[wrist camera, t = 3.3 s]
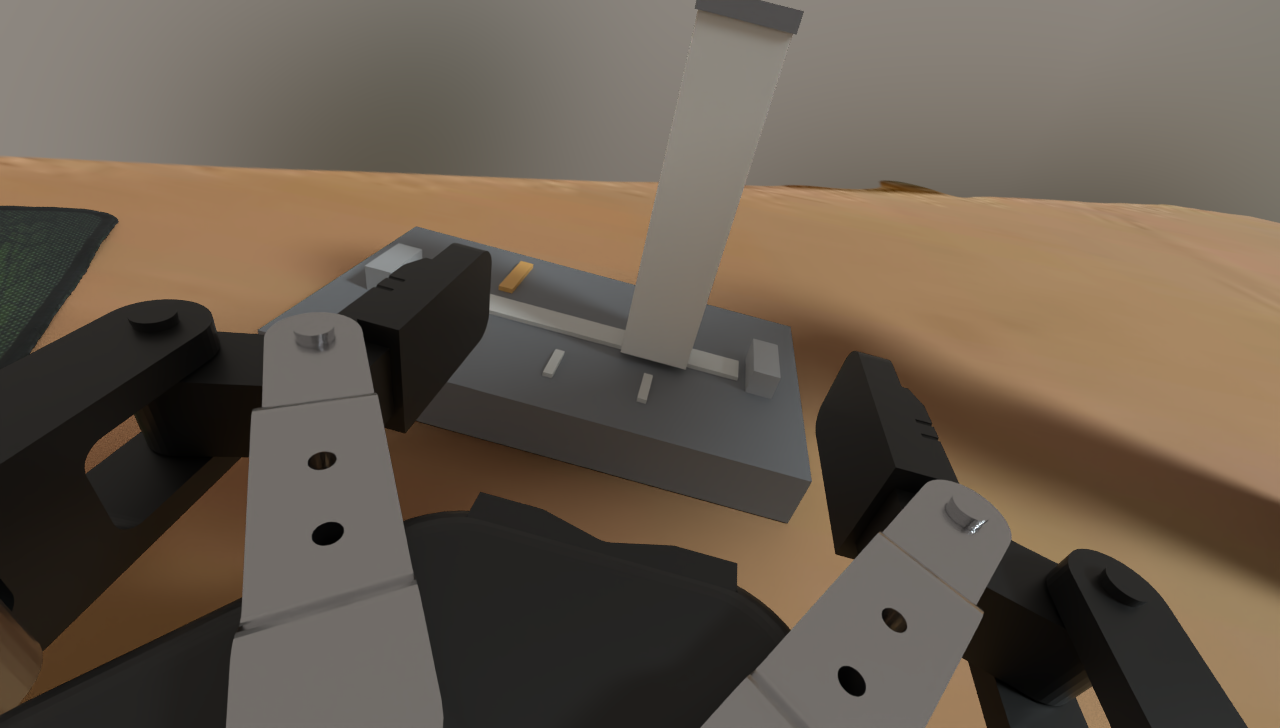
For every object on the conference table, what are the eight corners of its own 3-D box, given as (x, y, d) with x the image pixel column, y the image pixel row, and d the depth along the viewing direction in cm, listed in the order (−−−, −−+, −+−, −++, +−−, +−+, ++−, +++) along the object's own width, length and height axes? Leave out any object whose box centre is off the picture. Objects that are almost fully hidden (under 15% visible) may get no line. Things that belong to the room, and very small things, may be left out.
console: (775, 362, 31) (798, 308, 29) (787, 523, 22) (824, 459, 19) (417, 266, 32) (415, 206, 30) (269, 380, 22) (250, 303, 20)
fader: (693, 335, 26) (795, 11, 19) (687, 371, 24) (803, 11, 16) (630, 318, 26) (706, -12, 19) (617, 352, 24) (700, -16, 16)
